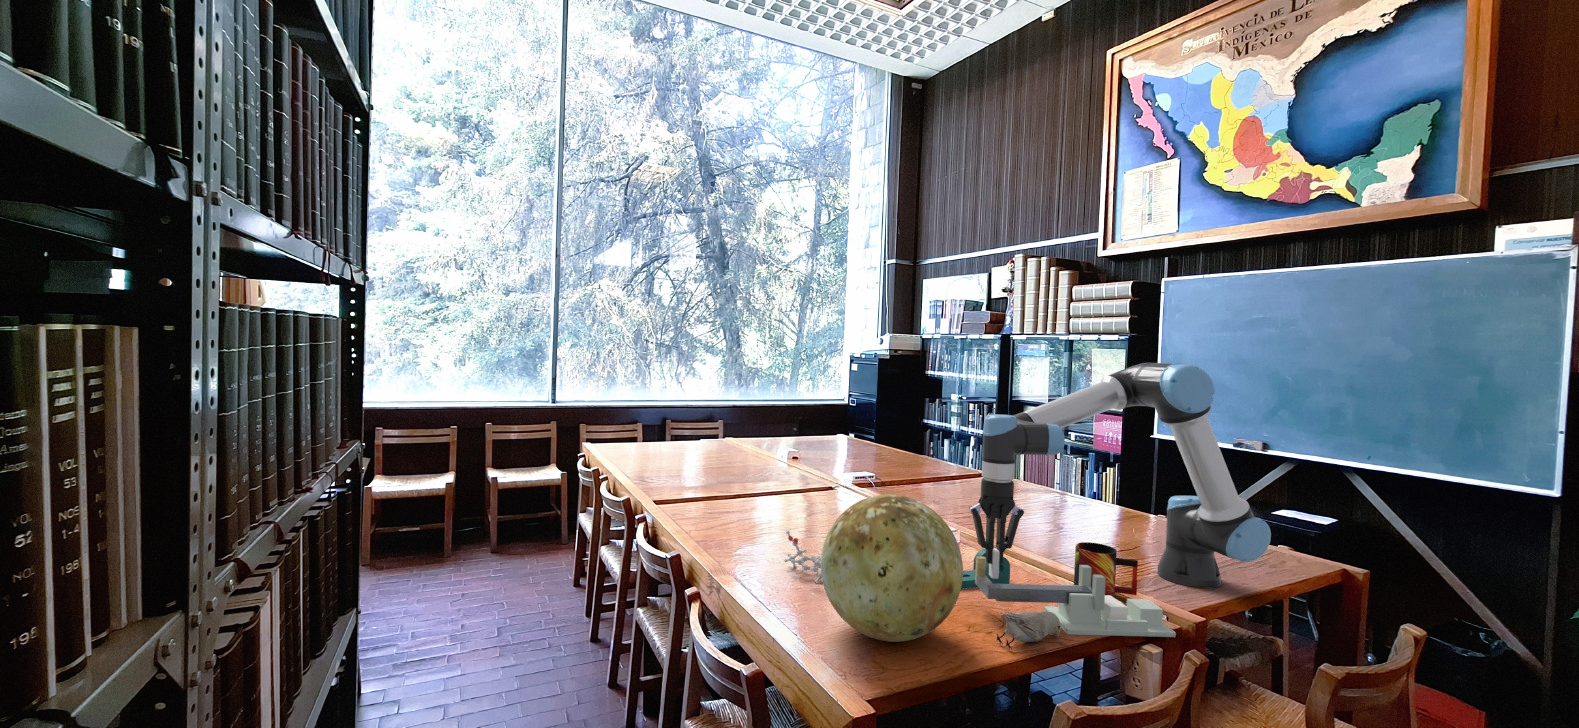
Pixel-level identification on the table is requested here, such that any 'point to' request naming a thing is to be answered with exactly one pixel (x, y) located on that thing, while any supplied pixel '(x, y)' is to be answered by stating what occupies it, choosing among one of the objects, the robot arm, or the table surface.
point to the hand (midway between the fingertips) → (993, 576)
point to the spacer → (1113, 609)
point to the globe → (891, 568)
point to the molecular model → (804, 558)
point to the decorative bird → (1030, 626)
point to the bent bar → (1023, 589)
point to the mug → (1104, 566)
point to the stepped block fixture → (1086, 609)
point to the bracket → (987, 573)
